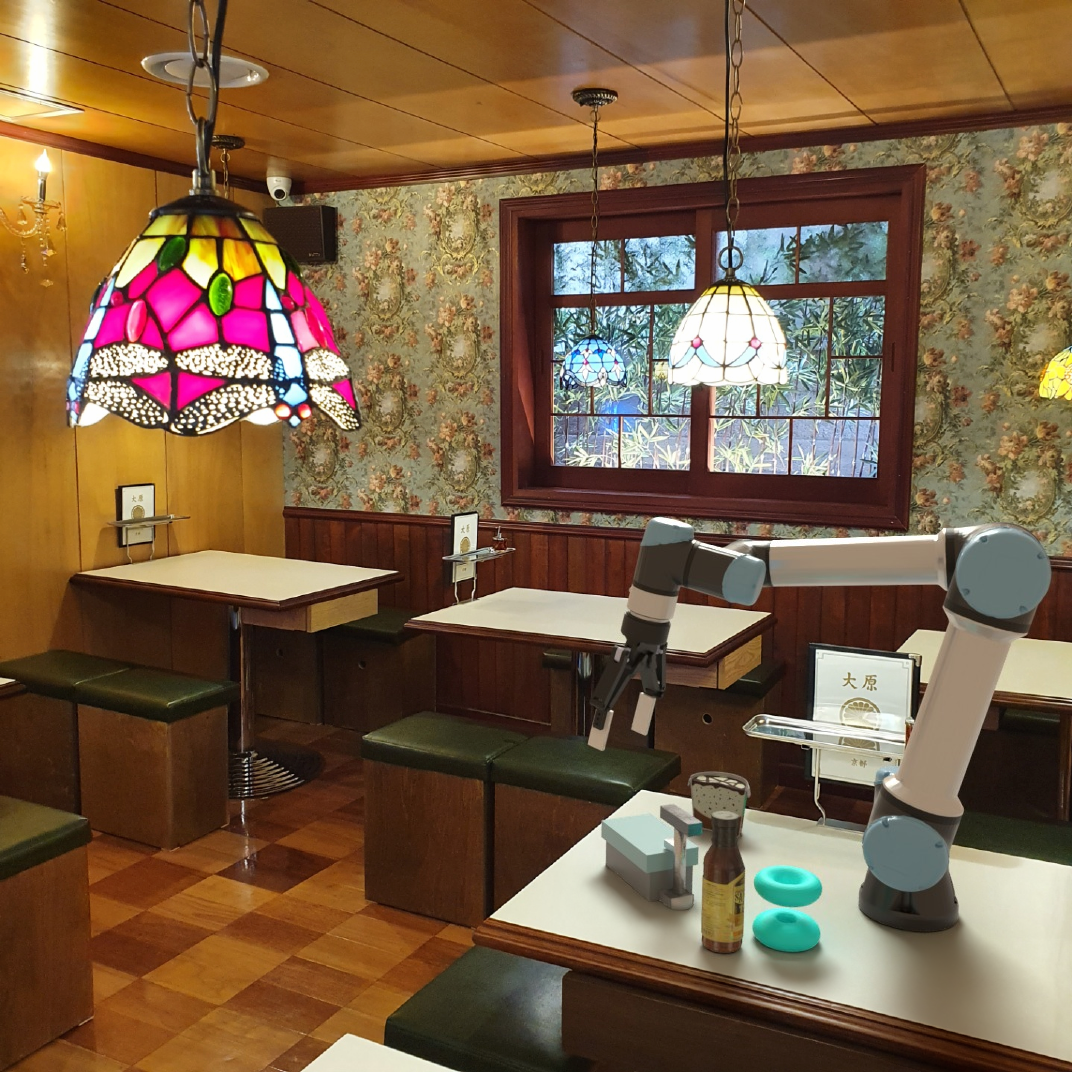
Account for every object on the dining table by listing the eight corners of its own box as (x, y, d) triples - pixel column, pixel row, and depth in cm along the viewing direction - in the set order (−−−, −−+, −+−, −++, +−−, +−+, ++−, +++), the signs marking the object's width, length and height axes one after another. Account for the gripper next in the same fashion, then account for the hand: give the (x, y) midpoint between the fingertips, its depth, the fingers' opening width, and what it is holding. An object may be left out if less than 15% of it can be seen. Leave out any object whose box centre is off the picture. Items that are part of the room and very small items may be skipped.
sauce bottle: (742, 957, 158) (746, 825, 156) (699, 953, 160) (702, 821, 158) (743, 937, 165) (747, 809, 163) (701, 932, 166) (705, 806, 164)
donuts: (804, 860, 169) (834, 886, 159) (801, 921, 170) (832, 952, 160) (743, 865, 167) (771, 892, 157) (741, 927, 168) (768, 958, 158)
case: (707, 905, 175) (707, 875, 175) (663, 913, 172) (664, 883, 172) (646, 858, 194) (646, 830, 194) (605, 864, 191) (606, 836, 191)
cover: (698, 864, 179) (698, 847, 179) (646, 873, 176) (646, 855, 175) (649, 829, 195) (650, 813, 194) (601, 836, 191) (601, 820, 191)
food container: (759, 828, 209) (760, 778, 208) (747, 839, 204) (748, 787, 203) (699, 816, 216) (700, 766, 215) (686, 825, 211) (687, 775, 210)
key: (700, 902, 172) (702, 822, 171) (686, 904, 171) (688, 824, 170) (671, 880, 180) (673, 803, 179) (658, 882, 179) (660, 805, 178)
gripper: (666, 601, 184) (637, 718, 188) (587, 614, 164) (556, 744, 168) (704, 615, 180) (674, 734, 184) (628, 630, 160) (596, 763, 164)
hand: (618, 739), depth 176 cm, fingers open, 13 cm apart
